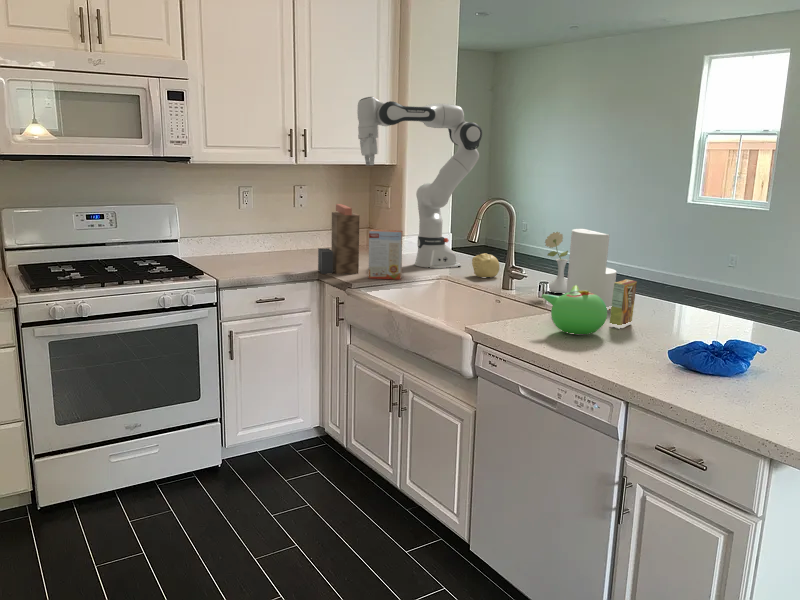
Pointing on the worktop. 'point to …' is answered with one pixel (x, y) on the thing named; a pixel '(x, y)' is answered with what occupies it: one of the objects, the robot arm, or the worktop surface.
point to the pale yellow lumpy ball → (485, 265)
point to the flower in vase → (559, 283)
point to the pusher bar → (343, 209)
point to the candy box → (623, 302)
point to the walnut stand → (345, 242)
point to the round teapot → (577, 311)
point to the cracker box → (385, 254)
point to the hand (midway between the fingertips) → (369, 165)
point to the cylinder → (591, 264)
